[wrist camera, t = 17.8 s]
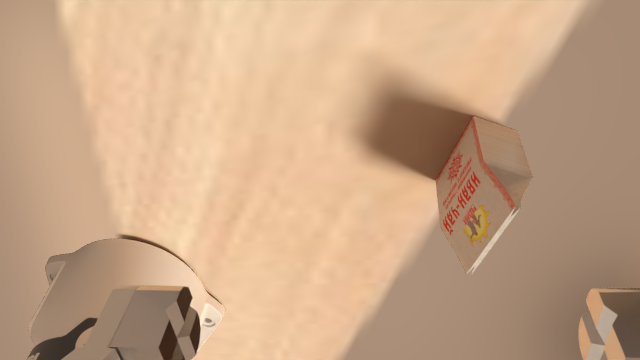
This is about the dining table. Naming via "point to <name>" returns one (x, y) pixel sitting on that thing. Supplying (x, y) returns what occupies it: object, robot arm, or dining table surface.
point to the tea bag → (481, 188)
